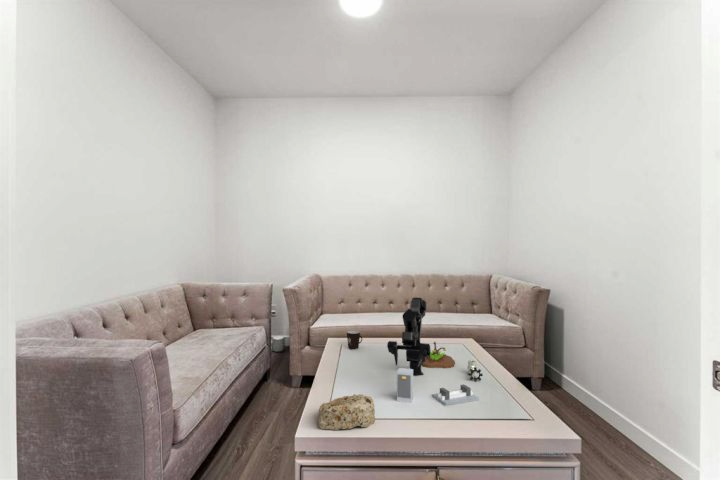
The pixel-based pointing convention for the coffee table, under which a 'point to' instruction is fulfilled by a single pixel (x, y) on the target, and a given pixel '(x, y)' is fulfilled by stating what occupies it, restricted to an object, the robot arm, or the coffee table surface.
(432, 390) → the coffee table surface
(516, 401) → the coffee table surface
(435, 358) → the plant
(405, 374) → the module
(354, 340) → the coffee mug
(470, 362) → the valve
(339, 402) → the rock
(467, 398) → the rail
